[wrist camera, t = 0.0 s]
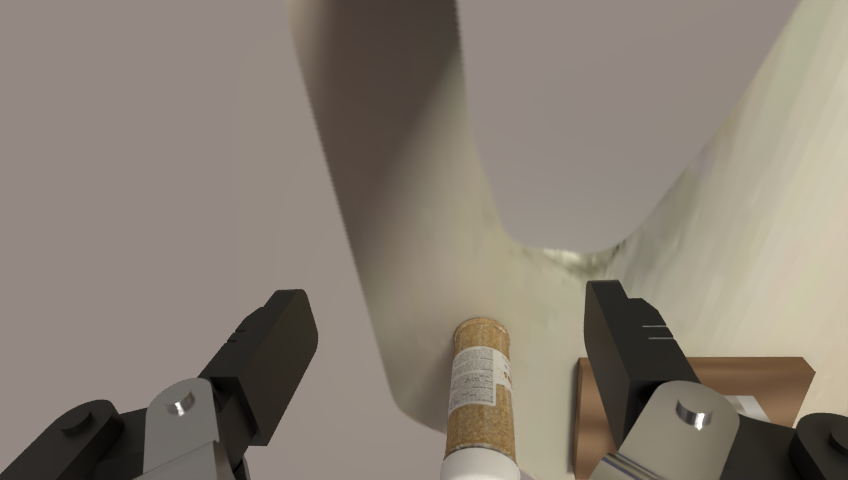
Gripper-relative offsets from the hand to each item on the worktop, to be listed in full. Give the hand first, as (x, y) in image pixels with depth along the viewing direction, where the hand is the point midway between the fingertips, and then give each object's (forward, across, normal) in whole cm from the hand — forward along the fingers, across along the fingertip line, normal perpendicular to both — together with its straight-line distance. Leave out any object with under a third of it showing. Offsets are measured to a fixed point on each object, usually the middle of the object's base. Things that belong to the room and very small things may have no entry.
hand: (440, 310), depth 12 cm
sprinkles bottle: (+18, 0, +16) cm, 24 cm away
